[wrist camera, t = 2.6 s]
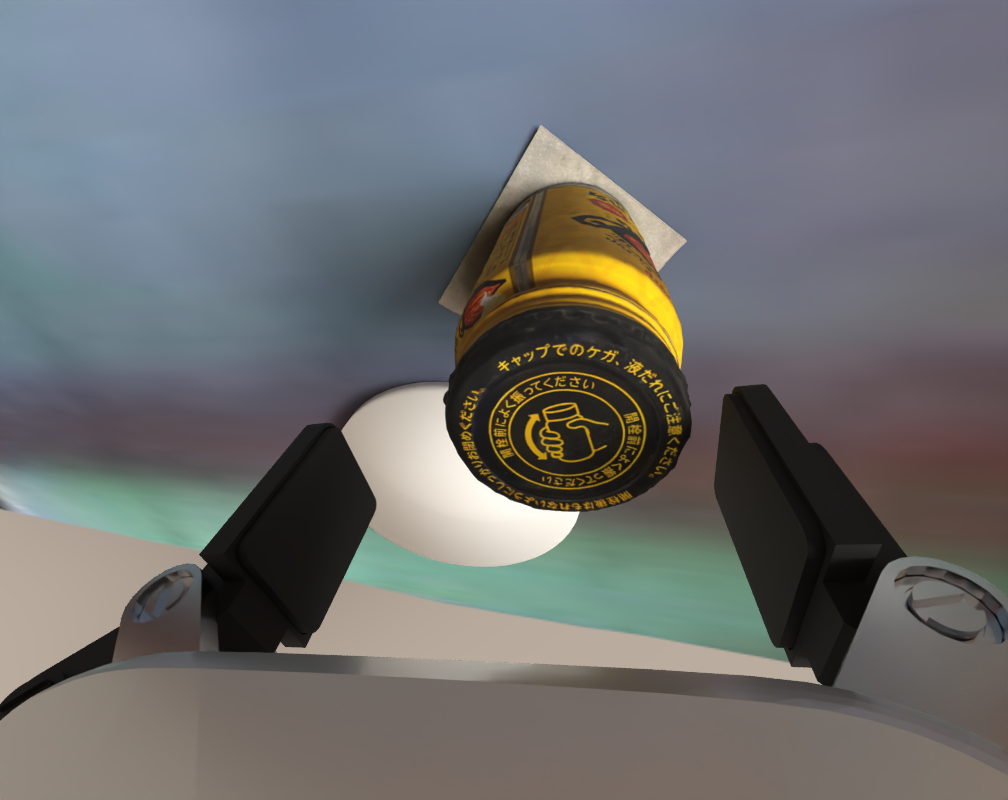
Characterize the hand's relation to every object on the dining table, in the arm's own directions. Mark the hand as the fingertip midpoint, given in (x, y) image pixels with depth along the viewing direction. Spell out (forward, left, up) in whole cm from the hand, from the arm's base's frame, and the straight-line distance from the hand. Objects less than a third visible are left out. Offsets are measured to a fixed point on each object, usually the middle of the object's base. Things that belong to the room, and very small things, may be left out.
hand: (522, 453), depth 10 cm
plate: (+12, -8, -11) cm, 18 cm away
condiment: (-1, 0, -11) cm, 11 cm away
